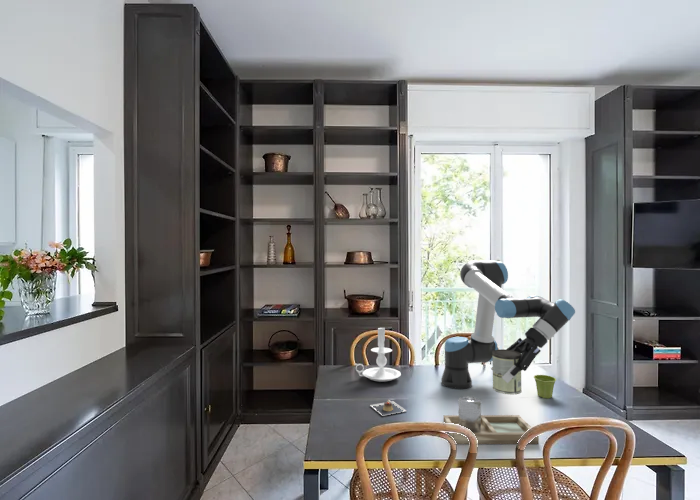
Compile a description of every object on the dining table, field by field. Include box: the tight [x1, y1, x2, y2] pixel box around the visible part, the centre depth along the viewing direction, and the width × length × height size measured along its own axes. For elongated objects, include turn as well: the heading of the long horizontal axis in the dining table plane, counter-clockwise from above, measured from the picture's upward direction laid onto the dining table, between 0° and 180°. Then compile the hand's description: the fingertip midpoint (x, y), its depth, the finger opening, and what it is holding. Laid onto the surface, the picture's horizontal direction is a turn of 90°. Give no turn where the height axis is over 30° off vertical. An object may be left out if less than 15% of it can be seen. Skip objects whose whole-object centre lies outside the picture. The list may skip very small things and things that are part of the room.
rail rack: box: [443, 414, 540, 445], centre depth 147 cm, size 16×30×4 cm, turn 90°
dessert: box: [369, 399, 408, 417], centre depth 169 cm, size 12×12×5 cm
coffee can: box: [492, 348, 522, 396], centre depth 147 cm, size 10×10×14 cm
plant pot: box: [533, 374, 557, 399], centre depth 184 cm, size 9×9×9 cm
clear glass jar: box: [458, 396, 482, 433], centre depth 147 cm, size 8×8×11 cm
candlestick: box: [354, 326, 402, 383], centre depth 208 cm, size 21×25×28 cm
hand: (498, 375), depth 147 cm, fingers closed on coffee can, 10 cm apart
